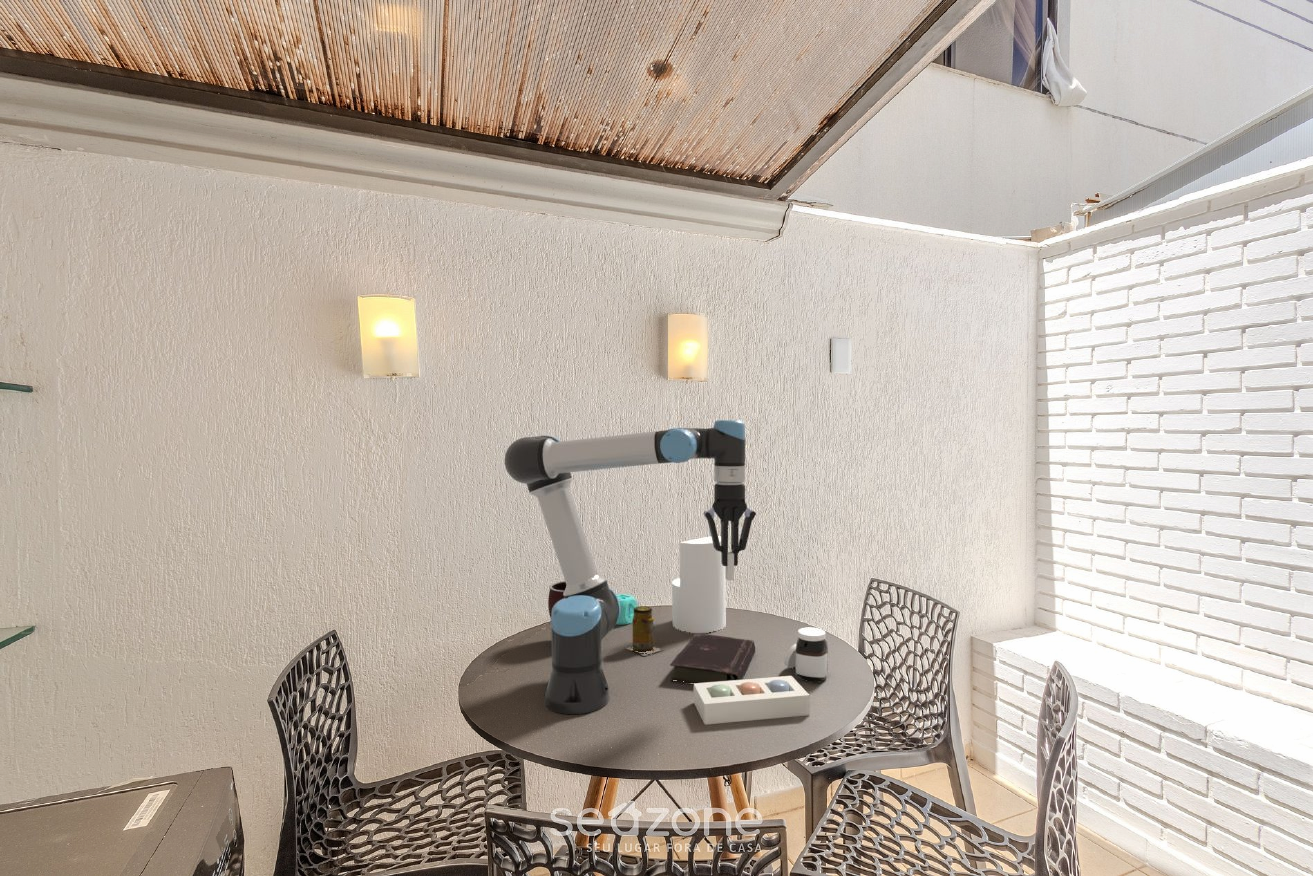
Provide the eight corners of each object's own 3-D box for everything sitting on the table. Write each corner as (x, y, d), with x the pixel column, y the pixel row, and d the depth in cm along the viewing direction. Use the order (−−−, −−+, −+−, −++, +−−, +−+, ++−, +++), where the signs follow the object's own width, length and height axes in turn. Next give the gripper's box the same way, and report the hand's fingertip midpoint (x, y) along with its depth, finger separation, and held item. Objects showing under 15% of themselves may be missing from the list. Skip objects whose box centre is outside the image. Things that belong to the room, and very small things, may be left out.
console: (704, 724, 137) (704, 704, 137) (693, 702, 148) (693, 683, 148) (809, 715, 141) (809, 695, 140) (791, 694, 151) (791, 675, 151)
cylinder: (736, 624, 205) (736, 538, 204) (700, 637, 193) (699, 546, 192) (697, 613, 217) (696, 532, 217) (661, 624, 205) (660, 539, 205)
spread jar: (823, 686, 156) (823, 639, 156) (778, 679, 161) (778, 634, 160) (831, 669, 167) (831, 625, 166) (789, 662, 171) (788, 620, 171)
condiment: (645, 643, 188) (644, 603, 188) (663, 651, 182) (663, 609, 181) (625, 649, 184) (625, 608, 183) (643, 657, 177) (643, 614, 177)
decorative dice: (638, 619, 211) (638, 596, 211) (624, 626, 204) (624, 602, 204) (619, 616, 215) (618, 593, 215) (604, 622, 208) (604, 598, 208)
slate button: (773, 703, 143) (773, 688, 143) (767, 695, 147) (766, 680, 147) (792, 701, 143) (791, 686, 143) (785, 693, 148) (784, 679, 148)
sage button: (713, 708, 140) (713, 693, 140) (708, 700, 145) (708, 685, 145) (732, 706, 141) (732, 691, 141) (727, 698, 145) (727, 683, 145)
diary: (755, 657, 178) (756, 639, 178) (739, 693, 154) (739, 673, 154) (691, 649, 184) (691, 632, 184) (666, 683, 160) (666, 663, 160)
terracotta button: (743, 705, 142) (743, 690, 141) (738, 697, 146) (738, 683, 146) (762, 704, 142) (762, 689, 142) (756, 696, 147) (756, 681, 147)
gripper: (706, 485, 150) (706, 583, 150) (760, 484, 151) (759, 581, 152) (700, 482, 157) (700, 576, 158) (751, 481, 159) (751, 574, 159)
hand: (729, 578), depth 155 cm, fingers closed
